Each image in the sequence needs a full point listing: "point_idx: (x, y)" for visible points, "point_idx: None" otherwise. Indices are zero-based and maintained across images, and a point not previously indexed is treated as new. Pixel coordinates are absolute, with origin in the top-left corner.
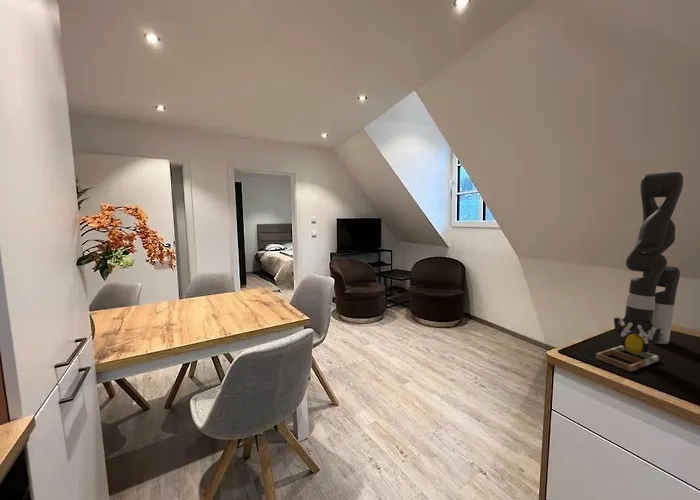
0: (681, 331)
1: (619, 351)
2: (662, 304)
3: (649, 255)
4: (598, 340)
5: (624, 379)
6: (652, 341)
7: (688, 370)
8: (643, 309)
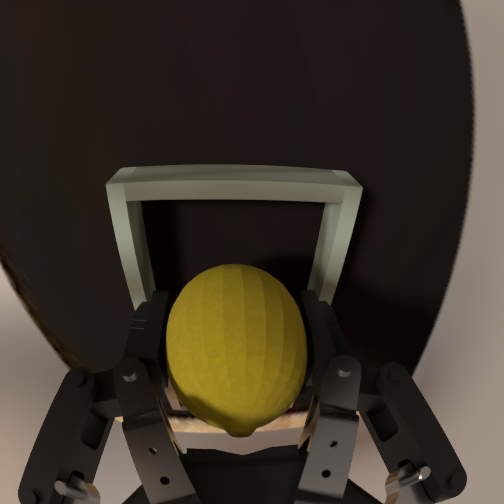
0: None
1: (147, 254)
2: None
3: None
4: None
5: (290, 418)
6: (366, 409)
7: (457, 177)
8: None
